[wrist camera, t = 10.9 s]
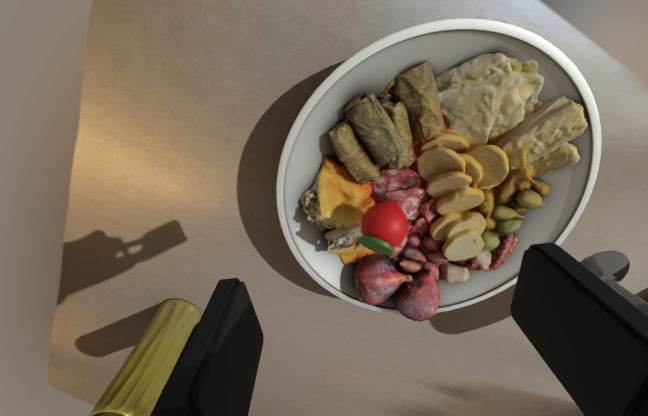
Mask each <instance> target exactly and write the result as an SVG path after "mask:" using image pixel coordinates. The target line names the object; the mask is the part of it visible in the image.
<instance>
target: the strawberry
mask: <svg viewBox="0 0 648 416" xmlns="http://www.w3.org/2000/svg"><path fill="white" fill-rule="evenodd" d="M361 230H362V234H363V236H361V238H360V240H359V242H360V243H361V244H362V245H363V246H364V247H366V248H368V249H370V250H372V251H374V252H377V253H379V254H383V255H393V254H394V251H395V249H394V247H396V246H398V245H399V244H400V243H402V242H403V240H404V239H405V237H406V235H407V232H408V220H407V217H406V215H405V214H404V212H403V210H402V208H401V207H400V206H399V205H398V204H397V203H395V202H392V201H384V202H381V203H379V204H376V205H373V206H372V207H370V208H369V209H368V210H367V211H366V212H365V214H364V216H363V218H362V221H361Z"/></svg>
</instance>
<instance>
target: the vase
mask: <svg viewBox="0 0 648 416" xmlns="http://www.w3.org/2000/svg"><path fill="white" fill-rule="evenodd" d="M200 320H201V314H200V312H199V310H198V309H197V308H196V307H195V306H194V305H193V304H191V303H189V302H187V301H184V300H179V299H172V300H167V301H165V302H164V303H162V304H161V305H160V306H159V309H158V311H157V313H156V315H155V316H154V318H153V320H152V321H151V323H150V324H149V326H148V327H147V329H146V330H145V332H144V333H143V335H142V336H141V338H140V339H139V341H138V342H137V344H136V346H135V347H134V349H133V350H132V352H131V353H130V355H129V356H128V358H127V360H126V361H125V363H124V364H123V366H122V368H121V369H120V371H119V372H118V373H117V375H116V376H115V378H114V379H113V381H112V382H111V384H110V385H109V387H108V388H107V390H106V391H105V393H104V394H103V396H102V397H101V399H100V400H99V402H98V403H97V404H96V406H95V407H94V409H93V410H92V412H91V413H90V415H89V416H149V415H150V413H151V411H152V409H153V407H154V405H155V403H156V401H157V399H158V397H159V395H160V393H161V392H162V390H163V388H164V386H165V384H166V382H167V380H168V378H169V376H170V374H171V372H172V370H173V368H174V366H175V364H176V362H177V360H178V358H179V356H180V354H181V352H182V350H183V348H184V346H185V344H186V342H187V340H188V338H189V335H190V333H191V331H192V329H193V328H194V326H195V325H196V324H197V323H198V322H200Z"/></svg>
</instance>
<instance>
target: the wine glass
mask: <svg viewBox="0 0 648 416" xmlns="http://www.w3.org/2000/svg"><path fill="white" fill-rule="evenodd" d="M581 264H582V265H583V266H585V267H586V268H587V269H588V270H590V271H591V272H592V273H594V274H595V275H596V276H597V277H599V278H600V279H601V280H602V281H604V282H605V283H606V284H608V285H609V286H610V287H612V288H613V289H615V290H616V291H617V292H618V293H620V294H621V295H622V296H623V297H624V298H625V299H627V300H628V301H629V302H631V303H632V304H633V305H634V306H636V307H637V308H638V309H639V310H641V311H642V312H643V313H645V314H646V315H647V316H648V302H647V301H645V300H643V299H641V298H639V297H637V296H636V295H634V294H632V293H631V292H629V291H628V290H626V289H625V288H623V287H622V286H620V285H619V284H618V283H619V282H620V281H621V280H622V279H623V278H624V277H625V275H626V274H627V272H628V270H629V260H628V258H627V257H626V256H625V255H624V254H622V253H619V252H614V251H609V252H602V253H598V254H596V255H593V256H591V257H589V258H587V259H586V260H584V261H583V262H581Z"/></svg>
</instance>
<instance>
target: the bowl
mask: <svg viewBox="0 0 648 416" xmlns="http://www.w3.org/2000/svg"><path fill="white" fill-rule="evenodd" d="M600 156H601V126H600V119H599V114H598V110H597V106H596V103H595V100H594V97H593V95H592V92H591V90H590V88H589V86H588V84H587V82H586V80H585V79H584V77H583V76H582V74H581V73H580V71H579V70H578V68H577V67H576V66H575V65H574V64H573V62H572V61H571V60H570V59H569V58H568V57H567V56H566V55H565V54H564V53H563V52H562V51H561V50H559V49H558V48H557V47H556V46H555V45H553V44H552V43H550V42H549V41H547V40H546V39H544V38H542V37H541V36H539V35H537V34H535V33H533V32H531V31H529V30H526V29H524V28H521V27H518V26H515V25H512V24H509V23H505V22H501V21H495V20H489V19H479V18H454V19H443V20H437V21H431V22H427V23H422V24H418V25H415V26H412V27H408V28H405V29H402V30H400V31H397V32H395V33H392V34H390V35H388V36H386V37H384V38H381V39H379V40H377V41H376V42H374V43H372V44H370V45H368V46H367V47H365V48H363V49H362V50H360V51H359V52H357V53H356V54H354V55H353V56H351V57H350V58H349V59H347V60H346V61H345V62H343V63H342V64H341V65H340V66H339V67H338V68H336V69H335V70H334V71H333V72H332V73H331V74H330V75H329V76H328V77H327V78H326V79H325V80H324V81H323V82H322V83H321V84H320V85H319V86H318V88H317V89H316V90H315V91H314V93H313V94H312V95H311V96H310V98H309V99H308V100H307V102H306V103H305V105H304V106H303V108H302V109H301V111H300V113H299V114H298V116H297V118H296V119H295V121H294V123H293V125H292V127H291V129H290V132H289V134H288V136H287V139H286V141H285V144H284V147H283V150H282V154H281V158H280V162H279V167H278V173H277V183H276V201H277V210H278V216H279V221H280V225H281V228H282V231H283V234H284V237H285V239H286V241H287V244H288V246H289V248H290V249H291V251H292V253H293V255H294V256H295V258H296V259H297V261H298V262H299V263H300V265H301V266H302V267H303V269H304V270H305V271H306V272H307V273H308V274H309V275H310V276H311V277H312V278H313V279H314V280H315V281H316V282H317V283H319V284H320V285H321V286H322V287H324V288H325V289H326V290H328V291H329V292H331V293H332V294H334V295H336V296H338V297H339V298H341V299H343V300H345V301H348V302H350V303H352V304H355V305H357V306H360V307H363V308H366V309H370V310H374V311H379V312H384V313H392V314H402V315H403V316H406V317H407V318H408V319H412V320H413V321H424V320H428V319H430V318H432V317H433V316H434V315H435V314H436V313H438V312H444V311H449V310H453V309H457V308H461V307H465V306H468V305H471V304H474V303H476V302H479V301H482V300H484V299H486V298H489V297H491V296H493V295H495V294H497V293H499V292H501V291H503V290H505V289H507V288H508V287H510V286H512V285H513V284H515V283H516V282H517V279H518V274H519V270H520V266H521V262H522V258H523V254H524V251H525V250H528V248H529V246H530V245H533V244H541V243H549V242H551V243H555V244H556V245H558V246H559V245H560V244H561V243H562V242H563V240H564V239H565V238H566V237H567V235H568V234H569V233H570V231H571V230H572V228H573V227H574V226H575V224H576V222H577V221H578V219H579V217H580V216H581V214H582V212H583V210H584V208H585V206H586V204H587V202H588V200H589V197H590V195H591V192H592V190H593V187H594V184H595V181H596V177H597V173H598V169H599V163H600ZM384 201H392V202H395V203H397V204H398V205H399V206H400V207H401V208H402V210H403V212H404V214H405V215H406V217H407V220H408V232H407V235H406V237H405V239H404V240H403V242H402V243H400V244H399V245H398V246H396V247H394V249H395V251H394V254H393V255H383V254H379V253H377V252H374V251H372V250H370V249H368V248H366V247H364V246H363V245H362V244H361V243H360V242H359V240H360V238H361V236H363V234H362V230H361V221H362V218H363V216H364V214H365V212H366V211H367V210H368V209H369V208H370V207H372V206H373V205H376V204H379V203H381V202H384Z"/></svg>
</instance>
